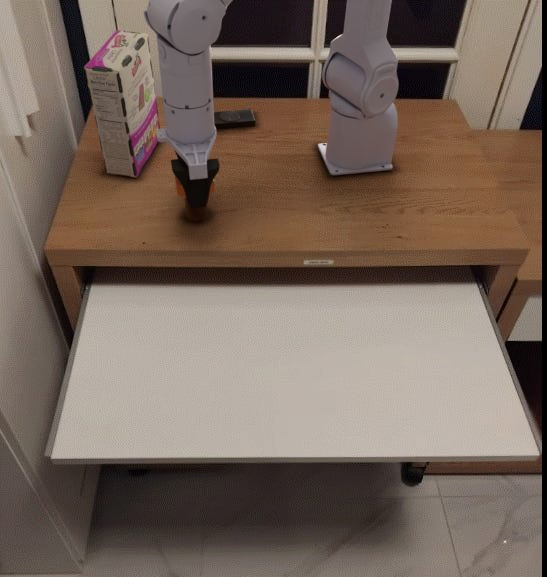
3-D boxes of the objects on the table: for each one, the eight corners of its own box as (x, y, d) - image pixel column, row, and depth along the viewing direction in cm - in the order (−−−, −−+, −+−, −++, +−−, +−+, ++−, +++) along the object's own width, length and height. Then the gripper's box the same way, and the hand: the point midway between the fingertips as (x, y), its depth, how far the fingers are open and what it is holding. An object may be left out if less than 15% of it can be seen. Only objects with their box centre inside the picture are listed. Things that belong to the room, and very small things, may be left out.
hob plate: (251, 114, 104) (251, 108, 103) (255, 125, 101) (255, 119, 100) (204, 118, 102) (204, 112, 102) (207, 129, 100) (207, 123, 99)
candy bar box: (131, 133, 99) (115, 28, 87) (162, 138, 98) (150, 32, 86) (103, 174, 91) (81, 65, 79) (136, 179, 90) (120, 69, 79)
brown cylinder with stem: (205, 207, 86) (203, 173, 82) (208, 220, 84) (206, 185, 80) (185, 209, 86) (182, 175, 82) (187, 222, 84) (184, 188, 80)
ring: (211, 175, 84) (210, 165, 83) (216, 197, 81) (215, 187, 79) (174, 179, 83) (173, 169, 82) (178, 201, 80) (177, 191, 79)
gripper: (148, 69, 77) (159, 164, 87) (157, 133, 67) (169, 232, 77) (206, 65, 78) (211, 159, 88) (224, 127, 68) (227, 225, 78)
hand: (195, 193), depth 82 cm, fingers closed on ring, 5 cm apart
